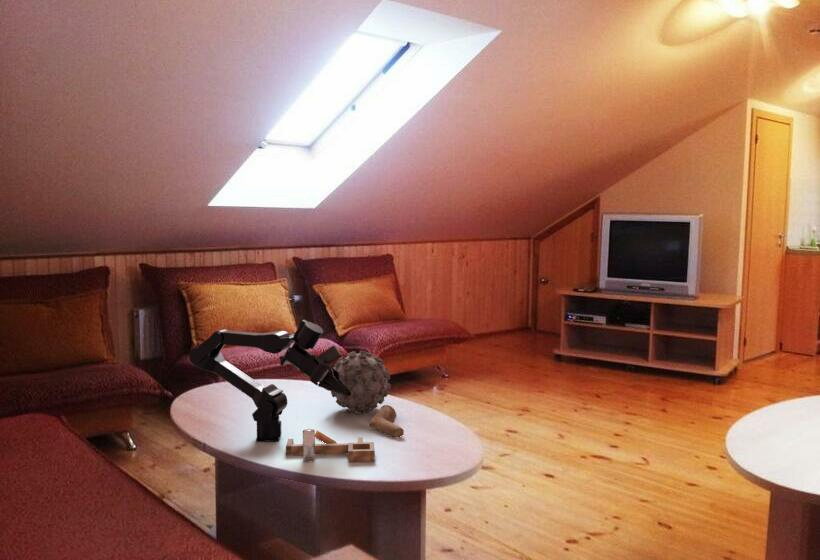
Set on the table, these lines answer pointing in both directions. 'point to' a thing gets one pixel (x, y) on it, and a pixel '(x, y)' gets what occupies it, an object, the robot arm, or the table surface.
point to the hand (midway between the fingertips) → (348, 393)
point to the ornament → (362, 381)
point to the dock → (339, 450)
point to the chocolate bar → (324, 438)
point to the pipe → (386, 422)
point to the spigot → (308, 445)
